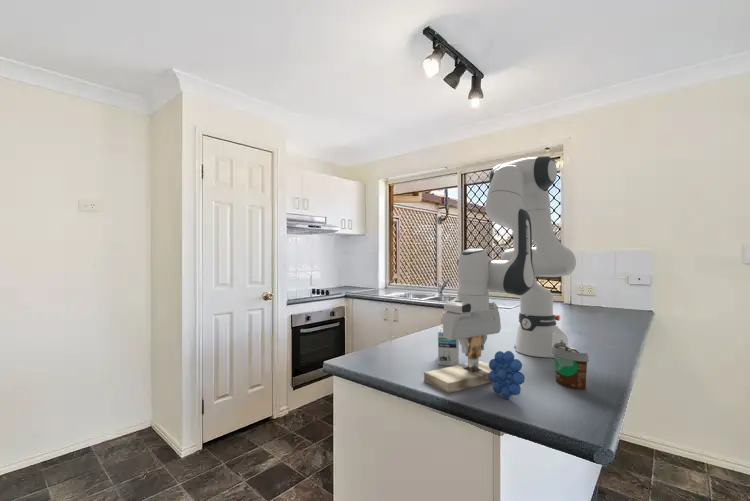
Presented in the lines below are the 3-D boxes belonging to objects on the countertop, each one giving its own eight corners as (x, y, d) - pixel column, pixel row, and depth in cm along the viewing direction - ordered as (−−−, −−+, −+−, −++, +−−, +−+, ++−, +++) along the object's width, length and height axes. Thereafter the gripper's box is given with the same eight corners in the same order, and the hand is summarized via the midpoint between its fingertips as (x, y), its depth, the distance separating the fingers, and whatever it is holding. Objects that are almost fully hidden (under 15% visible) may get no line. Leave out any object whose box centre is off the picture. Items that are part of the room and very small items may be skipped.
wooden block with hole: (479, 368, 110) (479, 360, 110) (505, 378, 101) (505, 369, 101) (424, 381, 99) (424, 371, 99) (448, 393, 90) (448, 382, 90)
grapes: (537, 404, 84) (537, 354, 84) (515, 409, 81) (515, 357, 81) (502, 387, 94) (502, 342, 94) (482, 391, 92) (482, 345, 92)
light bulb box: (458, 366, 112) (459, 333, 112) (437, 365, 113) (437, 332, 114) (457, 357, 123) (457, 326, 123) (438, 356, 124) (438, 325, 124)
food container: (543, 375, 104) (543, 342, 104) (564, 376, 104) (564, 342, 104) (564, 392, 91) (564, 353, 92) (588, 392, 91) (588, 353, 91)
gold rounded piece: (473, 369, 105) (472, 332, 105) (484, 373, 101) (484, 335, 101) (462, 371, 102) (462, 334, 103) (473, 376, 99) (473, 337, 99)
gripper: (489, 300, 110) (489, 344, 110) (439, 305, 100) (439, 353, 99) (505, 302, 105) (506, 349, 104) (454, 307, 94) (454, 359, 94)
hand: (473, 351), depth 102 cm, fingers closed on gold rounded piece, 4 cm apart
